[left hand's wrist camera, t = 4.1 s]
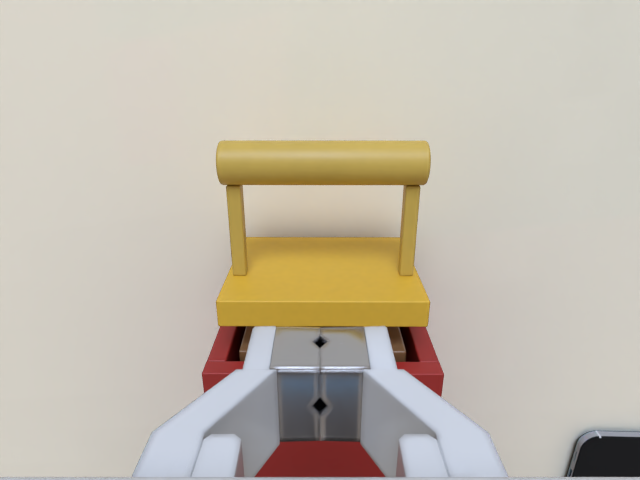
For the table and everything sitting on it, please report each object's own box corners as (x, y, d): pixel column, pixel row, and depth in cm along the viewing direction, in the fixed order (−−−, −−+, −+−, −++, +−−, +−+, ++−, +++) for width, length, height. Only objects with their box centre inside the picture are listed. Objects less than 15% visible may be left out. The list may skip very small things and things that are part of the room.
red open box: (239, 275, 27) (201, 373, 18) (406, 276, 27) (444, 374, 18) (255, 500, 33) (233, 645, 25) (389, 500, 33) (410, 646, 25)
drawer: (236, 125, 23) (201, 153, 16) (409, 125, 22) (446, 153, 16) (259, 471, 31) (242, 581, 24) (385, 471, 31) (402, 582, 24)
